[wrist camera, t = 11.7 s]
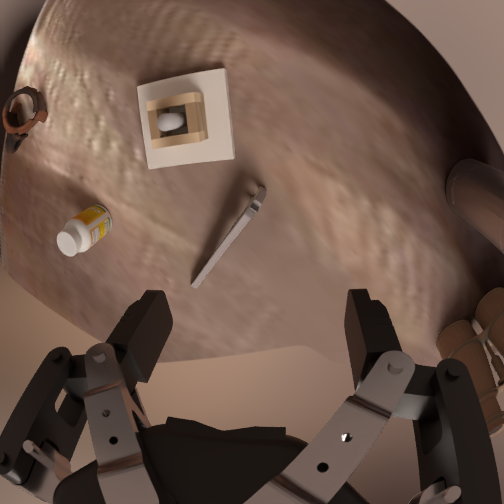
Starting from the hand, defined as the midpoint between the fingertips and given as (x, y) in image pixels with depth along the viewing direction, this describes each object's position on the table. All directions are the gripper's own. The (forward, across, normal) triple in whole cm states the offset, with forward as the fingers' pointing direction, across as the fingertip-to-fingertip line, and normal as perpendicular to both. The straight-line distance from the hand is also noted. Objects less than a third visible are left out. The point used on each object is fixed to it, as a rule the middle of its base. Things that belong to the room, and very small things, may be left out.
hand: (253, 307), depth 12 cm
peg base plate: (+28, +11, -8) cm, 31 cm away
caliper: (+28, +8, +10) cm, 31 cm away
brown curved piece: (+28, +41, -16) cm, 52 cm away
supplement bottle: (+28, +29, +5) cm, 41 cm away
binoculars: (+28, -41, +30) cm, 58 cm away
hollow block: (+26, +11, -8) cm, 30 cm away
